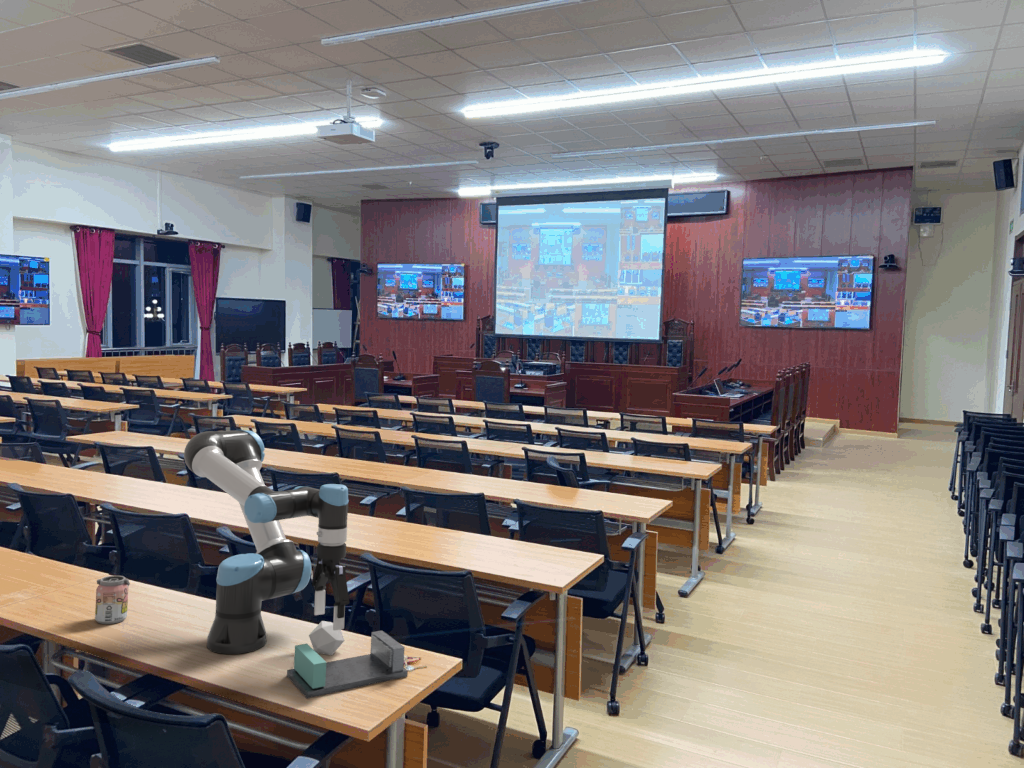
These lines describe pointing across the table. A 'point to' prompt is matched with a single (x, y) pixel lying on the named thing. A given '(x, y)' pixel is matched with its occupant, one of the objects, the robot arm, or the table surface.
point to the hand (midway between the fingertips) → (328, 621)
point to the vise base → (359, 668)
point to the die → (326, 638)
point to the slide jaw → (310, 665)
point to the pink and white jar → (111, 599)
